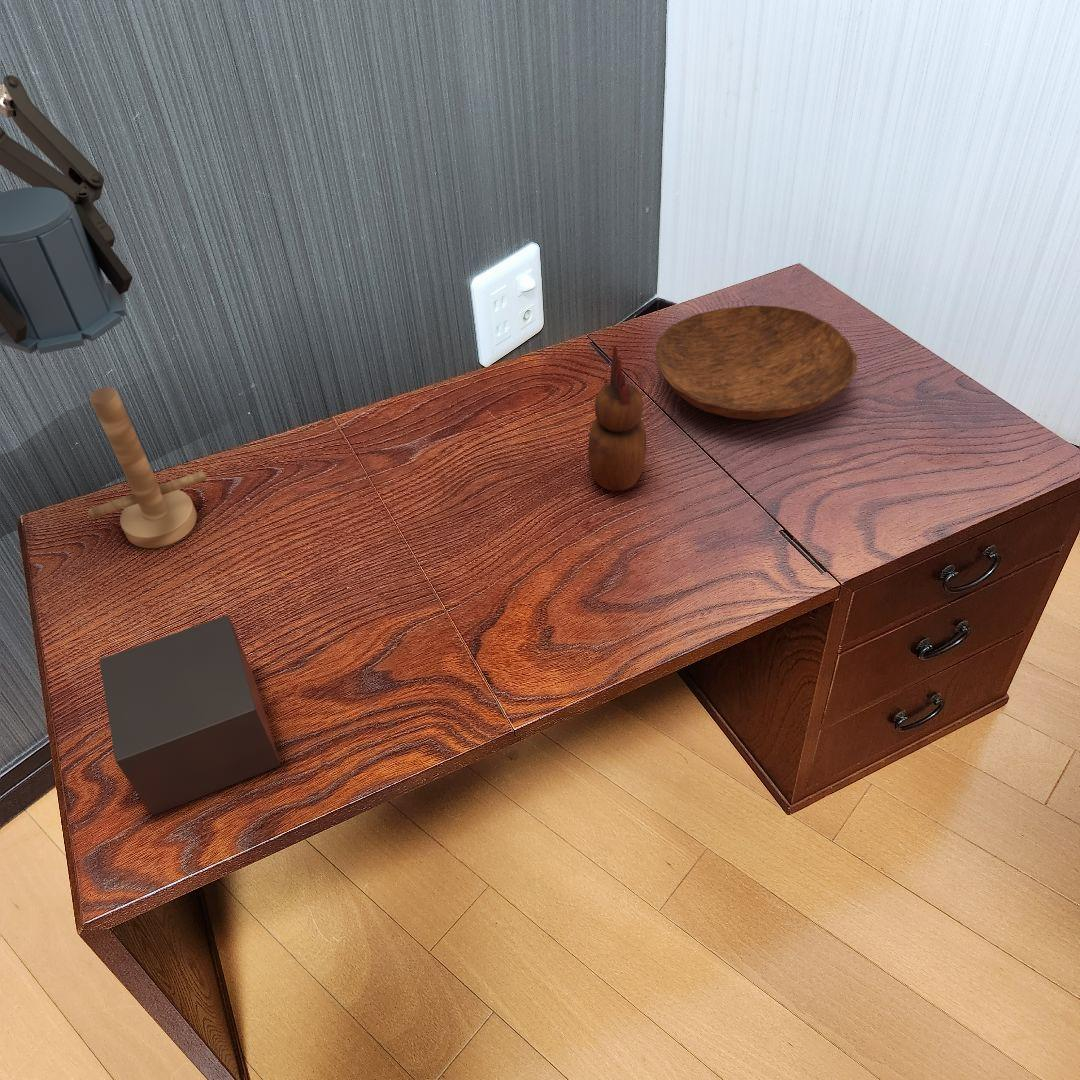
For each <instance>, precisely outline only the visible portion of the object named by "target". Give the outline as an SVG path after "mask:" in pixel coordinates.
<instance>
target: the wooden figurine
mask: <svg viewBox="0 0 1080 1080" xmlns="http://www.w3.org/2000/svg"><path fill="white" fill-rule="evenodd" d="M612 347H613V349H612V358H611V365H610V366H611V368H610V379H609V383H606V384H604V385H603V386H602V387H601V388H600V390H598V392H597V395H596V396H595V401H594V414H595V419H594V420H593V422H592V425H591V427H590V431H589V435H588V446H587V459H588V466H589V469H590V472H591V475H592V477H593V479H594V481H595V482H596V484H597V485H599V486H600V487H601V488H603V489H605V490H607V491H611V492H615V491H616V492H619V491H625V490H628V489H630V488H632V487H634V485H635V484H636V483H637V481H638V480H639V478H640V477H641V474H642V473H643V469H644V465H645V460H646V454H647V430H646V427H645V423H644V422H643V419H642V416H643V412H644V403H643V397H642V394H641V392H640V390H639V389H638V387H637V386H635V385H633V384H632V383H631V382H628V381H626V378H625V374H624V373H623V369H622V368H623V367H622V359H621V358H618V357H619V356H618V350H617V345H616V344H615V345H613V346H612Z"/></svg>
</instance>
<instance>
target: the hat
mask: <svg viewBox="0 0 1080 1080" xmlns="http://www.w3.org/2000/svg"><path fill="white" fill-rule="evenodd" d="M103 274H104V273H103V271H102V270H101V269H100V267H99V265H98V262H97V260H96V257H95V255H94V252H93V250H92V248H91V245H90V243H89V240H88V238H87V235H86V233H85V230H84V228H83V226H82V223H81V221H80V218H79V216H78V213H77V211H76V208H75V206H74V204H73V202H72V201H71V200H70V199H69V198H68V196H67V195H66V194H65V193H63V192H62V191H59V190H56V189H53V188H46V187H32V186H28V187H19V188H13V189H9V190H5V191H1V192H0V291H1V293H2V294H3V295H4V297H5V298H6V299H7V301H8V302H9V303H10V305H11V306H12V307H13V309H14V310H15V311H16V313H17V314H18V315H19V317H20V318H21V319H22V320H23V322H24V323H25V324H26V326H27V331H26V339H25V340H23V341H21V342H19V343H17V344H16V343H15V342H14V340H13V339H12V338H11V336H10V335H9V334H8V333H7V331H6V330H5V329H4V327H3V326H2V325H1V323H0V344H1V345H3V346H6V347H9V348H12V349H15V350H17V351H21V352H25V353H27V354H31V355H32V354H33V353H35V352H36V351H38V353H39V354H40V355H43V354H48V353H54V352H58V351H64V350H69V349H74V348H78V347H84V346H85V340H87V341H89V342H90V341H91V342H95V341H96V340H97V339H99V338H101V337H102V336H103V335H104V334H106V333H108V332H109V331H110V330H112V329H113V328H115V327H116V326H117V325H119V324H120V323H121V322H123V317H124V316H127V303H126V300H127V299H126V292H124V293H122V294H120V295H119V293H118V292H117V290H116V289H115V288H114V286H113V285H112V284H111V282H106V279H105V277H104V275H103Z"/></svg>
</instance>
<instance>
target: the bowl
mask: <svg viewBox="0 0 1080 1080" xmlns="http://www.w3.org/2000/svg"><path fill="white" fill-rule="evenodd" d="M654 356H655V360H656V363H657V368H658V370H659V372H660V375H662V377H663V379H665V381H666V382H667V384H668V385H669V386H670V388H671V389H672V390H673V392H674V393H675V394H677V395H678V396H679V397H681V398H682V399H683V400H684V401H686V402H687V403H689V405H691V406H692V407H694V408H697V409H699V410H702V411H704V412H706V413H710V414H713V415H717V416H721V417H725V418H728V419H729V418H730V419H739V420H740V419H741V420H752V421H759V420H767V419H768V420H769V419H776V418H777V419H779V418H785V417H786V418H787V417H790V416H793V415H794V416H795V415H798V414H800V413H804V412H807V411H810V410H813V409H814V408H816V407H818V406H819V405H821V404H823V403H825V402H826V401H829V400H830V399H832V398H834V397H835V396H837V395H839V394H840V393H841V392H843V390H844V389H846V387H848V386H849V385H850V382H851V381H852V379H853V378H854V376H855V375H856V372H857V371H858V355H857V353H856V352H855V350H854V349H853V347H852V345H851V343H850V342H849V340H848V338H846V337H845V336H844V335H843V334H842V333H841V332H840V331H839V330H838V329H836V327H834V326H833V325H832V324H830V323H829V322H827V321H825V320H823V319H820V318H819V317H817V316H815V315H813V314H810V313H808V312H806V311H804V310H799V309H793V308H789V307H785V306H784V307H783V306H780V305H779V306H778V305H757V304H755V305H754V304H752V305H743V306H742V305H741V306H732V307H731V306H730V307H723V308H718V309H713V310H709V311H705V312H699V313H695V314H692V315H691V316H688V317H687V318H684V319H682V320H680V321H677V322H676V323H673V324H671V325H668V327H667V329H666V330H665V331H664V332H663V333H662V334H661V335H660V337H659V338H658V339H657V343H656V345H655V351H654Z"/></svg>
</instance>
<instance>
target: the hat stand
mask: <svg viewBox="0 0 1080 1080" xmlns="http://www.w3.org/2000/svg"><path fill="white" fill-rule="evenodd" d="M88 399H89V402H90V405H91V406H92V408H93V411H94V413H95V415H96V417H97V419H98V421H99V423H100V426H101V428H102V430H103V432H104V434H105V435H106V436H105V437H106V439H107V440H108V442H109V445H110V446H111V449H112V451H113V454H114V455H115V457H116V460H117V461H118V464H119V466H120V468H121V470H122V472H123V474H124V476H125V479H126V480H127V483H128V485H129V487H130V490H131V491H132V493H131V494H130V495H129V494H128V495H126V496H123V497H120V498H117V499H114V500H111V501H108V502H105V503H103V504H99V505H97V506H93V507H90V508H89V509H88V511H87V515H88V517H89V518H91V519H96V518H97V519H98V518H100V517H102V516H105V515H108V514H111V513H114V512H117V511H120V510H122V511H121V513H120V517H119V520H120V521H119V522H120V526H121V529H122V532H123V533H124V535H125V537H126V539H127V540H128V541H129V542H130V543H131V544H133V545H134V546H137V547H138V548H143V549H157V548H163V547H166V546H170V545H173V544H175V543H176V542H179V541H180V540H182V539H183V538H185V537H186V536H187V535H188V534H189V533H191V531H192V530H193V528H194V527H195V525H196V523H197V520H198V519H197V518H198V513H197V510H196V508H195V505H194V503H193V500H192V499H191V497H190V496H189V494H187V493H186V492H184V491H182V490H181V489H185V488H188V487H191V486H193V485H196V484H199V483H202V482H204V481H206V480H207V477H208V476H207V474H206V472H205V471H196V472H195V473H191V474H188V475H186V476H182V477H179V478H176V479H173V480H170V481H167V482H164V483H161V484H159V482H158V481H157V478H156V476H155V474H154V471H153V469H152V467H151V465H150V463H149V460H148V458H147V456H146V453H145V451H144V449H143V447H142V444H141V441H140V440H139V438H138V435H137V433H136V430H135V428H134V427H133V424H132V421H131V419H130V417H129V414H128V411H127V410H126V408H125V406H124V403H123V401H122V399H121V397H120V394H119V392H118V390H117V389H116V388H114V387H111V386H106V387H101V388H98V389H96V390H94V391H93V392H91V394H90V395H89V397H88Z"/></svg>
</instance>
